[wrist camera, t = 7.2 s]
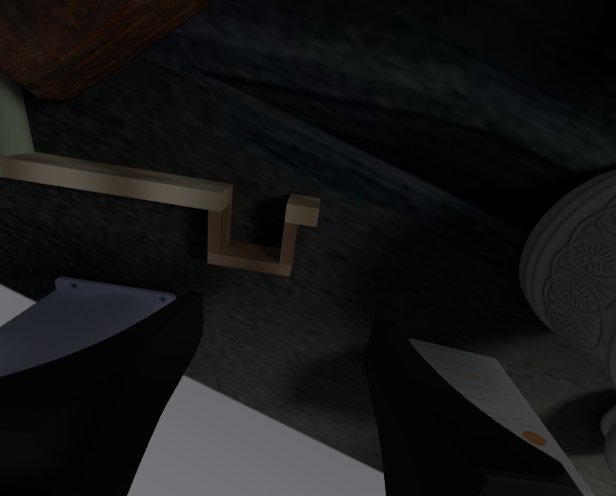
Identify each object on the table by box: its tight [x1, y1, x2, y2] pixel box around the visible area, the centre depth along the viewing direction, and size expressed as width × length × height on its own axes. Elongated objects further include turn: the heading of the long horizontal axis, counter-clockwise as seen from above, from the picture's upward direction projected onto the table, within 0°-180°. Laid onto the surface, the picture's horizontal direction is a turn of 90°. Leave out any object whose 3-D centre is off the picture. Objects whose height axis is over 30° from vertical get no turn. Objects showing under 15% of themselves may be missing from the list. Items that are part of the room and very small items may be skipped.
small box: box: [409, 338, 595, 496], centre depth 22 cm, size 8×6×10 cm
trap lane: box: [0, 71, 320, 276], centre depth 16 cm, size 21×25×2 cm
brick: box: [0, 0, 210, 100], centre depth 15 cm, size 11×4×5 cm, turn 117°
